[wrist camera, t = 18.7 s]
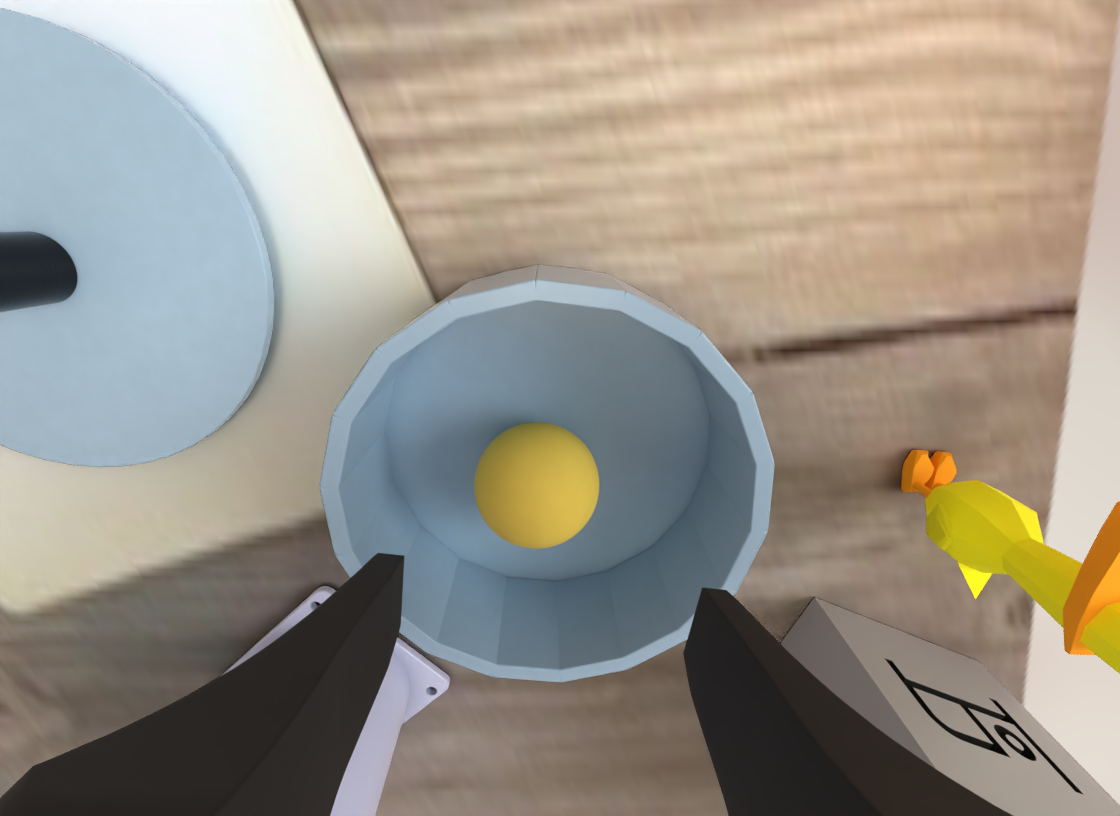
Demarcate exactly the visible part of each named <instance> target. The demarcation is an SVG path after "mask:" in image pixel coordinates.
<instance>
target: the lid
mask: <svg viewBox="0 0 1120 816" xmlns="http://www.w3.org/2000/svg"><path fill="white" fill-rule="evenodd" d="M273 320H274V289H273V276H272V271H271V266H270V261H269V256H268V251H267V246H266V243H265V240H264V237H263V234H262V231H261V228H260V225H259V222H258V219H257V216H256V214H255V212H254V210H253V208H252V206H251V203H250V201H249V199H248V197H247V195H246V193H245V191H244V188H243V186H242V185H241V183H240V181H239V180H238V178H237V176H236V175H235V173H234V171H233V170H232V168H231V166H230V165H229V163H228V161H227V160H226V158H225V157H224V155H223V154H222V153H221V151H220V150H219V149H218V147H217V146H216V145H215V143H214V142H213V141H212V139H211V138H210V137H209V136H208V134H207V133H206V132H205V130H204V129H203V128H202V127H201V126H200V124H199V123H198V122H197V121H196V120H195V119H194V118H193V117H192V116H191V115H190V114H189V113H188V112H187V111H186V109H185V108H184V107H183V106H182V105H181V104H180V103H179V102H178V101H177V100H176V99H175V98H174V97H172V96H171V95H170V94H169V93H168V92H167V91H165V90H164V89H163V88H162V87H161V86H160V85H159V84H157V83H156V82H155V81H154V80H153V79H152V78H151V77H149V76H148V75H147V74H145V73H144V72H142V71H141V70H139V69H138V68H137V67H135V66H134V65H132V64H131V63H129V62H128V61H126V60H125V59H124V58H122V57H121V56H119V55H118V54H116V53H114V52H112V51H111V50H109V49H107V48H105V47H103V46H101V45H100V44H98V43H96V42H94V41H92V40H90V39H89V38H87V37H85V36H82V35H80V34H77V33H75V32H73V31H70V30H68V29H65V28H63V27H60V26H58V25H55V24H53V23H50V22H48V21H45V20H43V19H40V18H37V17H33V16H30V15H26V14H22V13H18V12H15V11H11V10H7V9H3V8H0V445H2V446H5V447H7V448H9V449H12V450H14V451H17V452H20V453H24V454H27V455H30V456H34V457H37V458H41V459H44V460H49V461H54V462H59V463H65V464H70V465H80V466H93V467H111V466H128V465H134V464H140V463H147V462H151V461H154V460H158V459H161V458H165V457H168V456H171V455H174V454H176V453H178V452H180V451H182V450H184V449H187V448H189V447H191V446H193V445H195V444H196V443H198V442H199V441H201V440H202V439H204V438H205V437H207V436H208V435H210V434H211V433H213V432H215V431H216V430H218V429H219V428H220V427H221V426H222V425H223V424H224V423H225V422H226V421H227V420H229V419H230V418H231V417H232V416H233V415H234V414H235V413H236V411H237V410H238V409H239V408H240V406H241V405H242V404H243V403H244V401H245V400H246V399H247V398H248V396H249V395H250V393H251V391H252V389H253V387H254V386H255V384H256V382H257V380H258V378H259V377H260V374H261V371H262V369H263V366H264V363H265V361H266V358H267V355H268V351H269V346H270V341H271V336H272V332H273Z"/></svg>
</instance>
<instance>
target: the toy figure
mask: <svg viewBox="0 0 1120 816" xmlns="http://www.w3.org/2000/svg"><path fill="white" fill-rule="evenodd" d="M956 473H957V469H956V466H955V464H954V461H953V458H952V453H948V452H941V451H936V452H935V453H934V454H933V456H932V457H931V458H930V459H929V457H928V451H925V450H911V452H910V454H909V455H908V457H907V458H906V460H905V461H904V464H903V468H902V487H901V490H902V491H903V492H919V493H920V494H922V495H923V496H924V497H926V499H925V505H926V513H927V518H926V534H927V535H928V536H929V537H930V539H931V540H933V541H934V543H935V544H936V545H937V546H938V547H939V548H940V549H942V550H945V551H946V552H947V553H948V554H949V555H951V556H952V557H953V558H954V559H955V560H957V562H958V564H959V566H960V568H961V570H962V572H963V574H964V576H965V578H966V580H967V583H968V585H969V587H970V589H971V591H972V593H973V595H974V597H975V599H976V598H977V596H978V595H979V593H980V592H981V590H982V589H983V587H984V585H985V584H986V582H987V581H988V579H989V578H990V576H991V575H992V574H1009V575H1010V576H1011V577H1012V578H1013V579H1014V580H1015V581H1016V582H1017V583H1018V584H1019V585H1020V586H1021V587H1022V588H1023V589H1024V590H1025V591H1026V592H1027V593H1028V594H1029V595H1030V596H1031V597H1032V598H1033V599H1034V600H1035V601H1036V602H1037V603H1039V605H1041V606H1042V607H1043V608H1044V609H1045V610H1046V611H1047V612H1048V613H1049V614H1050V615H1051V616H1052V617H1053V618H1054V619H1055V620H1056V621H1057V622H1058V623H1059V624H1060V625H1061V626H1062V627H1063V628H1064V647H1065V651H1066V652H1067V653H1069V654H1076V655H1079V654H1080V655H1097V656H1098V657H1100V658H1101V659H1102V660H1103V661H1105V662H1106V663H1107V664H1108V665H1110V666H1111V667H1112V668H1113V669H1115V670H1116V671H1117V672H1118V673H1120V502H1117V503H1116V505H1115V507H1114V508H1113V510H1112V511H1111V513H1110V515H1109V516H1108V518H1107V520H1106V521H1105V523H1104V524H1103V526H1102V528H1101V530H1100V532H1099V534H1098V535H1097V538H1096V539H1095V541H1094V543H1093V545H1092V547H1091V549H1090V551H1089V553H1088V555H1087V557H1086V558H1085V560H1084V562H1083V564H1082V563H1080V562H1078V561H1076V560H1074V559H1072V558H1071V557H1069V556H1067V555H1064V554H1062V553H1061V552H1059V551H1057V550H1055V549H1052V548H1051V547H1049V546H1047V545H1045V544H1044V543H1043V538H1042V534H1041V530H1040V526H1039V521H1038V517H1037V513H1036V512H1035V511H1033V510H1031V509H1030V508H1028V507H1026V506H1025V505H1023V504H1021V503H1020V502H1018V501H1016V500H1015V499H1013V498H1011V497H1010V496H1008V495H1006V494H1005V493H1003V492H1001V491H999V490H997V489H995V488H993V487H991V486H989V485H987V484H985V483H983V482H981V481H979V480H972V481H962V482H952V483H950V482H951V481H952V480H953V479H954V477H955V475H956Z"/></svg>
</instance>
